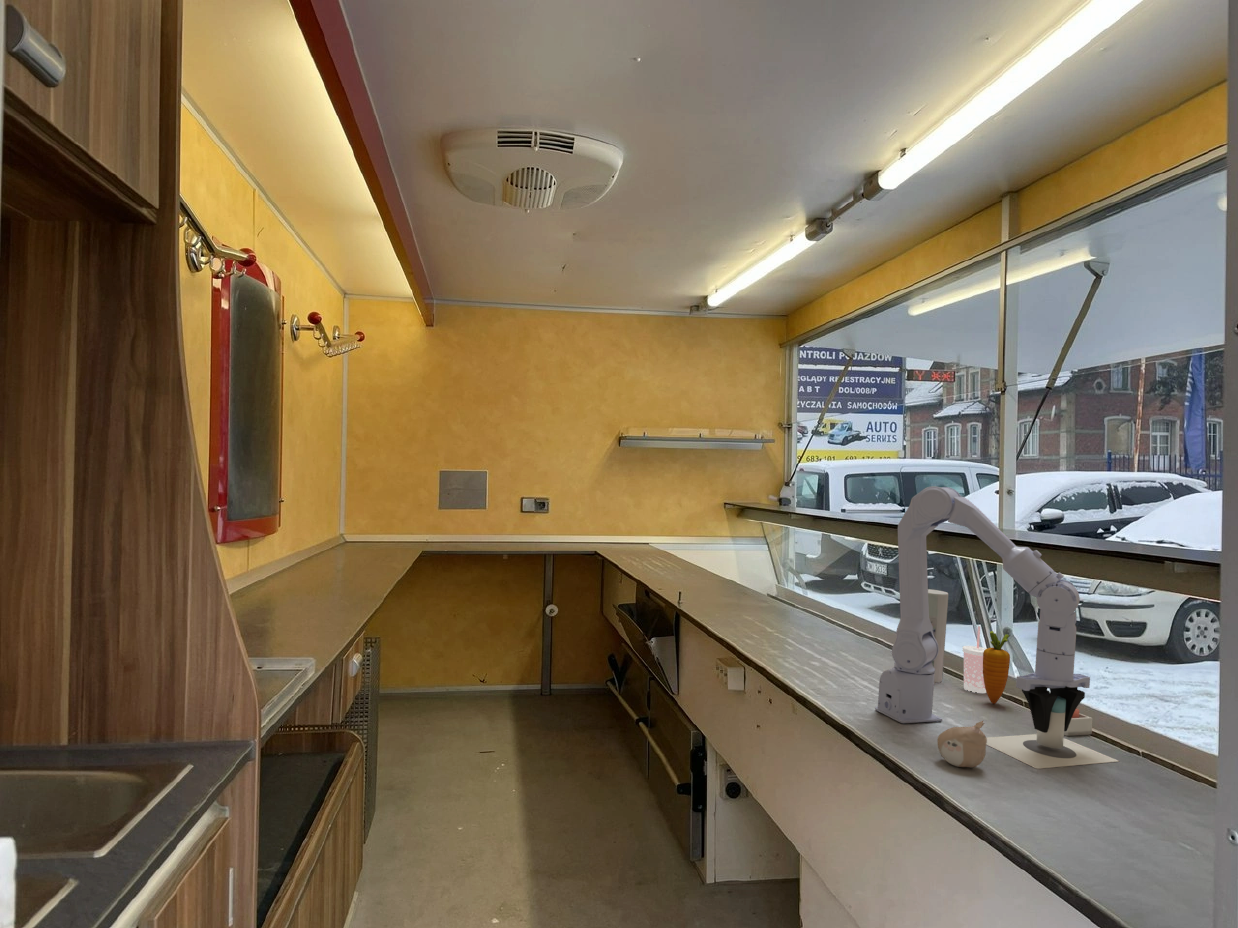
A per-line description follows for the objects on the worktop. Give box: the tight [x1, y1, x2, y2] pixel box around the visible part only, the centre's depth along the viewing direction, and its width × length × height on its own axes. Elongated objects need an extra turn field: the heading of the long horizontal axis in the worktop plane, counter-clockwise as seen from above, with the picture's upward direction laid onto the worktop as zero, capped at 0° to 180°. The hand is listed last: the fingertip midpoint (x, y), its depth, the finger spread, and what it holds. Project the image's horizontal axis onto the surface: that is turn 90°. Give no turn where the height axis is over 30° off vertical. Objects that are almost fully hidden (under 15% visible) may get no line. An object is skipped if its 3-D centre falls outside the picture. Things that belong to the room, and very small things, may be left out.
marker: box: [1036, 696, 1066, 748], centre depth 129 cm, size 4×4×8 cm
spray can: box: [928, 588, 949, 684], centre depth 171 cm, size 6×6×20 cm
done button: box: [1072, 707, 1080, 718], centre depth 140 cm, size 4×4×2 cm
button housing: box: [1064, 712, 1093, 737], centre depth 140 cm, size 6×6×3 cm
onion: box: [937, 720, 987, 769], centre depth 119 cm, size 7×6×8 cm
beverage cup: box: [962, 625, 988, 694], centre depth 164 cm, size 6×6×14 cm
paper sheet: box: [986, 733, 1120, 770], centre depth 128 cm, size 18×13×1 cm
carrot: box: [983, 630, 1011, 705], centre depth 154 cm, size 5×5×15 cm
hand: (1050, 729), depth 129 cm, fingers closed on marker, 4 cm apart
